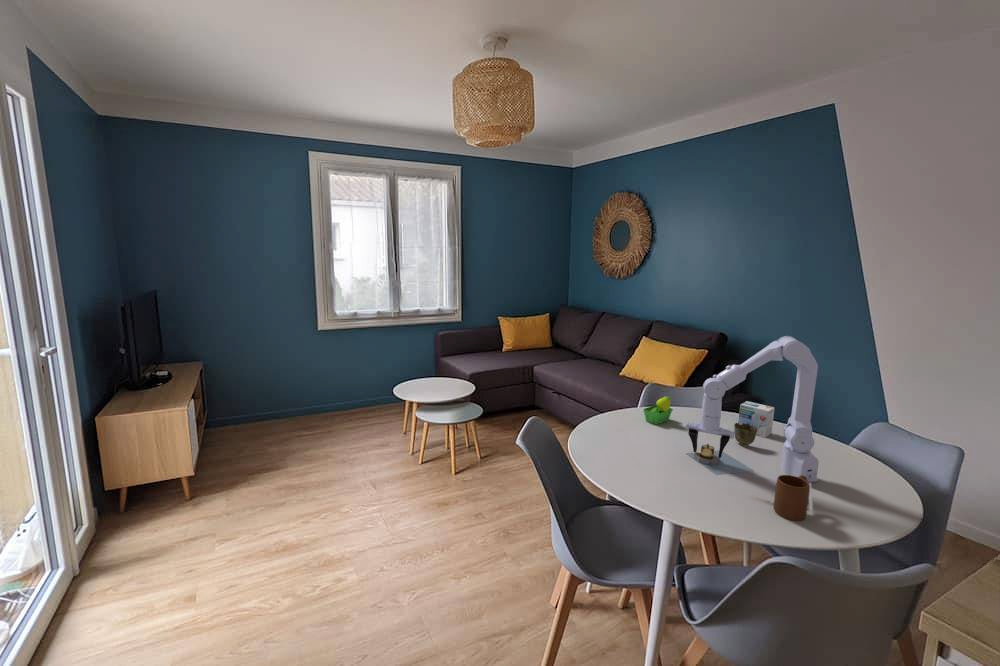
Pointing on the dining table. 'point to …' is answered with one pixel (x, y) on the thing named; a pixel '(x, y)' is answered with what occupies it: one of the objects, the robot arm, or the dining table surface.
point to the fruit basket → (659, 411)
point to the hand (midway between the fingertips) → (707, 453)
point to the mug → (791, 497)
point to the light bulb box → (757, 417)
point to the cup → (745, 433)
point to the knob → (707, 451)
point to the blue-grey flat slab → (720, 463)
